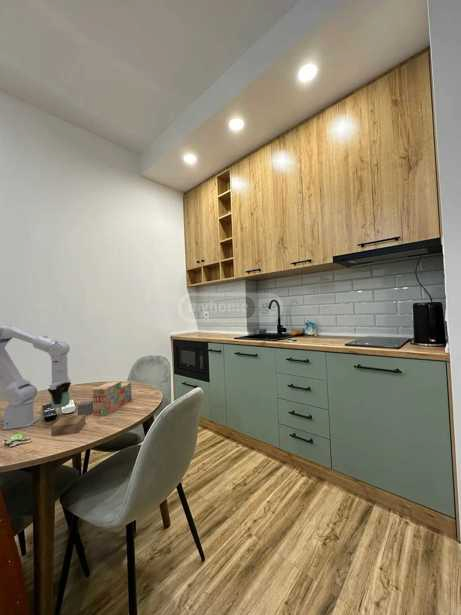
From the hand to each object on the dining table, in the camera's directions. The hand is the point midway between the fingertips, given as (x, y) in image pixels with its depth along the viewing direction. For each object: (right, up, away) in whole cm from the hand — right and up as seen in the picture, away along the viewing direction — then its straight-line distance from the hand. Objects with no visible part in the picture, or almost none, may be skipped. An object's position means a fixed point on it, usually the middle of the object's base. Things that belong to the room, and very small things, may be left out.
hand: (60, 401), depth 110 cm
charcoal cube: (+7, -8, +7) cm, 13 cm away
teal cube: (0, -2, 0) cm, 2 cm away
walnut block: (+10, -8, -9) cm, 16 cm away
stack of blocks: (+17, -8, +14) cm, 24 cm away
